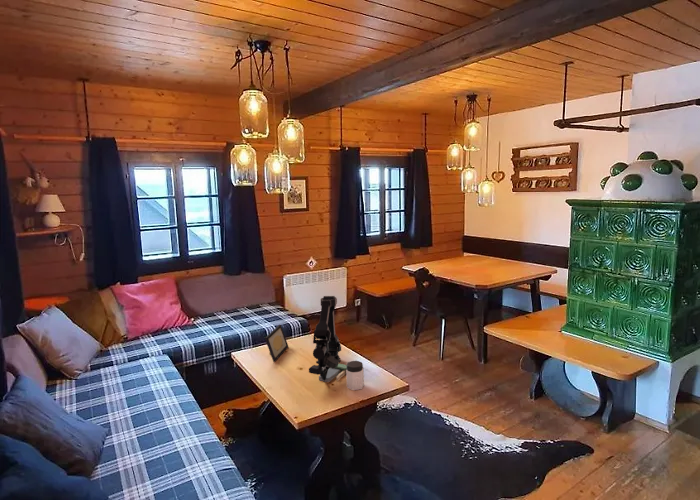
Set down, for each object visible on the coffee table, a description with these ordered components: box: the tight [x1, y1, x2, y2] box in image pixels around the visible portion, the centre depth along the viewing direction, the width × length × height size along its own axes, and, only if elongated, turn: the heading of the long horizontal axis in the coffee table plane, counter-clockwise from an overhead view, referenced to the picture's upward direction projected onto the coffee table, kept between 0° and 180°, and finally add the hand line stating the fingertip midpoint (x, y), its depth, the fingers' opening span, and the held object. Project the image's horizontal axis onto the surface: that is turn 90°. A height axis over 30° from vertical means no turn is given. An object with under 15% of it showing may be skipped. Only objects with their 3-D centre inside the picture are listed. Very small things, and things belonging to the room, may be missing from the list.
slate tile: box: [318, 368, 341, 383], centre depth 232 cm, size 12×6×2 cm, turn 151°
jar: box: [345, 360, 365, 391], centre depth 219 cm, size 9×8×12 cm
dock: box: [319, 362, 347, 382], centre depth 235 cm, size 12×16×4 cm
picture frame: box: [264, 324, 289, 363], centre depth 265 cm, size 23×9×15 cm, turn 168°
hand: (324, 380), depth 226 cm, fingers closed
